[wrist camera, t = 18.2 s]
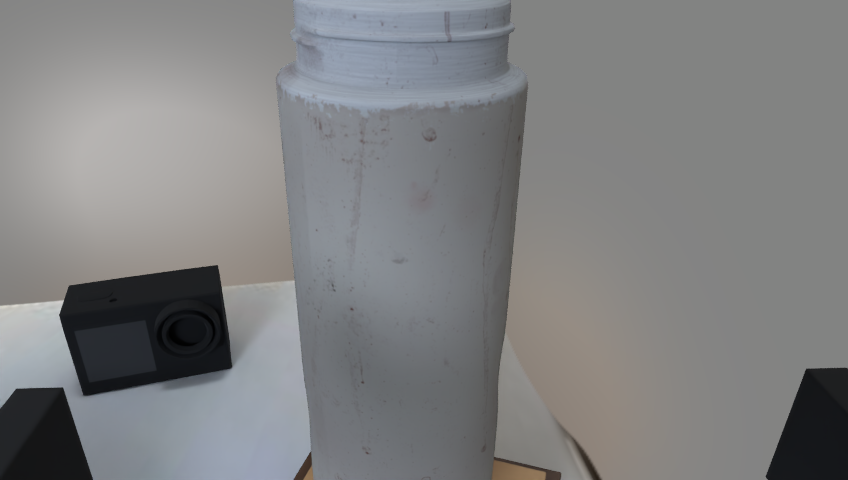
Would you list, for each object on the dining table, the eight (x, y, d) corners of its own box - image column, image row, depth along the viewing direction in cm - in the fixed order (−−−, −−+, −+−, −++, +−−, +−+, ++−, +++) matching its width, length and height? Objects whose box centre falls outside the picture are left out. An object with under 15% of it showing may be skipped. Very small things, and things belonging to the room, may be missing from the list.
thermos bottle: (445, 456, 35) (470, -124, 22) (515, 582, 28) (609, -141, 15) (304, 498, 32) (237, -134, 19) (344, 648, 25) (285, -160, 13)
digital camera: (78, 408, 43) (52, 325, 40) (89, 361, 48) (66, 283, 45) (233, 379, 46) (220, 299, 43) (229, 337, 51) (217, 263, 48)
